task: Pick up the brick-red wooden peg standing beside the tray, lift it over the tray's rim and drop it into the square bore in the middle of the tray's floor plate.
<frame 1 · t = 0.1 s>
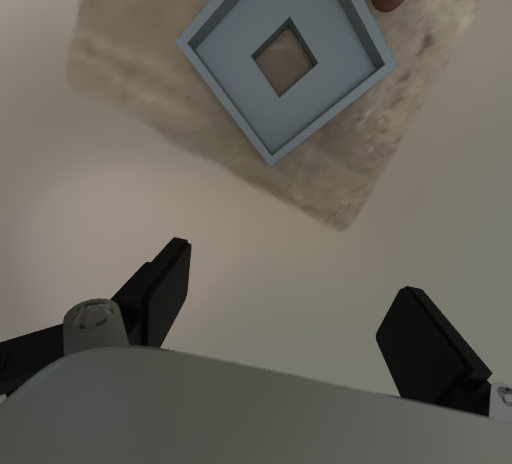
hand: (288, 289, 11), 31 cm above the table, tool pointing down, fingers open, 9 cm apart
tray: (284, 64, 34), on the table
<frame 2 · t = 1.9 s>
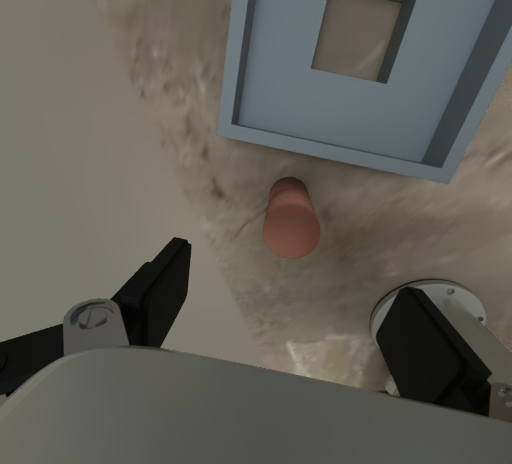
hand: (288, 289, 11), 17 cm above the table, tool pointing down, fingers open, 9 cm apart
tray: (352, 41, 21), on the table
peg: (288, 195, 27), on the table
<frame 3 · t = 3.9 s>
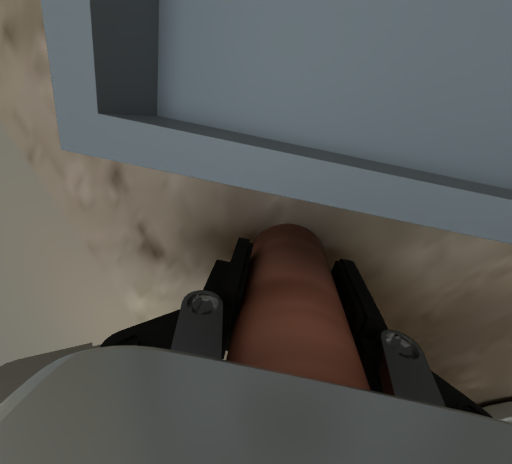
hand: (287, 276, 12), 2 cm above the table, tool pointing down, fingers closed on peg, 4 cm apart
peg: (286, 257, 14), on the table, touching gripper
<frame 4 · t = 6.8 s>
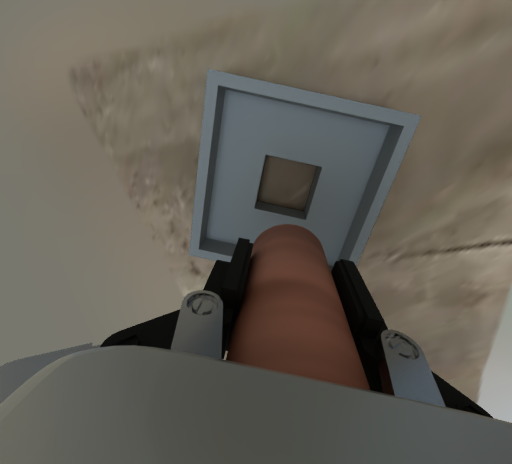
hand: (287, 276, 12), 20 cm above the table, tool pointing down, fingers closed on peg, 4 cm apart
tray: (286, 182, 30), on the table
peg: (286, 257, 14), point 18 cm above the table, touching gripper
when the fingers open (6 cm above the table, at t = 9.7 s): peg drops 4 cm, resting in tray.
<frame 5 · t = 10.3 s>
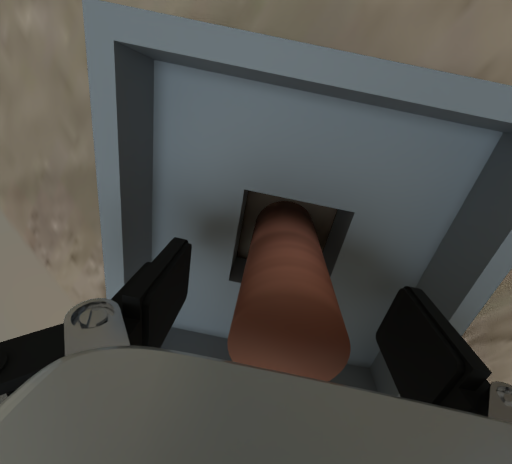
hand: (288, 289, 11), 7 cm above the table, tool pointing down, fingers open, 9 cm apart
tray: (285, 229, 17), on the table
peg: (283, 228, 17), resting in tray
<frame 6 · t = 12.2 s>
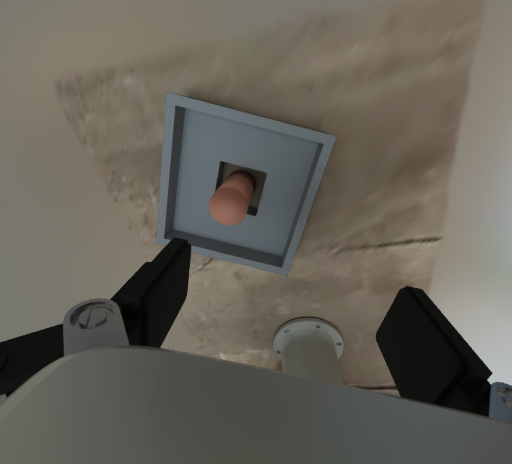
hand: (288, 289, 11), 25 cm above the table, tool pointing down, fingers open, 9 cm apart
tray: (242, 184, 35), on the table
peg: (241, 184, 35), resting in tray
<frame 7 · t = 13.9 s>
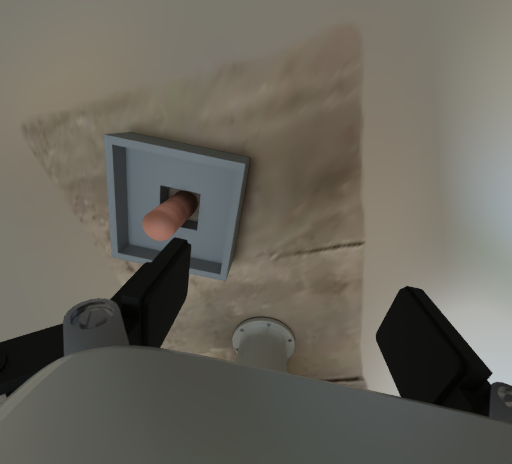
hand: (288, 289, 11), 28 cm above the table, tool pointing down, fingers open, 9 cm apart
tray: (186, 202, 40), on the table
peg: (185, 202, 40), resting in tray
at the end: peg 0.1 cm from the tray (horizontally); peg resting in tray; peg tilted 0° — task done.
